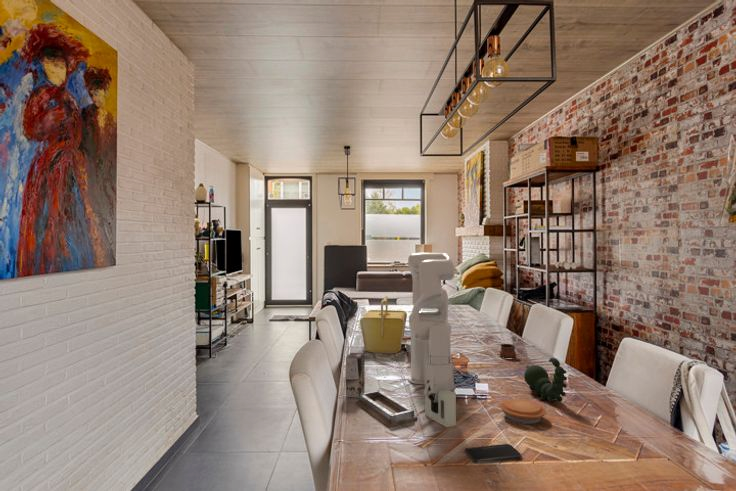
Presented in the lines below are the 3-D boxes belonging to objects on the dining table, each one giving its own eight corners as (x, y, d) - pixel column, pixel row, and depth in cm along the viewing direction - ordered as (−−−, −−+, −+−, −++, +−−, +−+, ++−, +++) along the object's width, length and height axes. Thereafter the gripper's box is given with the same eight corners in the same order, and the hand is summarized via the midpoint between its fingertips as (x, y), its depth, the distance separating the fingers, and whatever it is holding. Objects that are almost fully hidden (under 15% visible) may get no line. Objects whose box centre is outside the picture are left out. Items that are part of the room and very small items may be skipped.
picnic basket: (366, 341, 268) (366, 294, 268) (407, 342, 265) (407, 295, 265) (359, 353, 239) (359, 300, 239) (404, 354, 236) (404, 301, 236)
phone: (523, 456, 121) (474, 461, 119) (523, 460, 121) (474, 465, 119) (509, 443, 129) (463, 447, 126) (509, 447, 129) (463, 451, 126)
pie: (490, 413, 154) (490, 399, 154) (523, 406, 160) (523, 393, 160) (521, 430, 140) (521, 415, 140) (555, 422, 146) (555, 408, 146)
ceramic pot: (527, 355, 233) (527, 343, 233) (521, 364, 217) (521, 350, 217) (495, 352, 242) (494, 340, 242) (487, 360, 226) (486, 347, 226)
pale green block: (433, 412, 155) (433, 383, 155) (455, 425, 144) (455, 393, 144) (424, 415, 152) (424, 385, 152) (445, 427, 142) (445, 395, 142)
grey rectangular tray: (382, 398, 169) (382, 389, 169) (417, 419, 148) (417, 409, 148) (355, 403, 164) (355, 394, 164) (388, 427, 143) (388, 416, 143)
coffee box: (360, 398, 170) (360, 358, 170) (345, 397, 171) (345, 357, 171) (365, 390, 179) (365, 352, 178) (350, 389, 180) (350, 351, 180)
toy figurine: (571, 410, 160) (535, 383, 185) (574, 362, 158) (537, 341, 183) (549, 412, 159) (515, 384, 183) (551, 364, 157) (517, 342, 181)
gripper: (451, 353, 156) (451, 402, 156) (414, 360, 148) (414, 411, 148) (465, 358, 149) (465, 409, 149) (427, 365, 141) (427, 419, 141)
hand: (439, 410), depth 148 cm, fingers closed on pale green block, 4 cm apart
